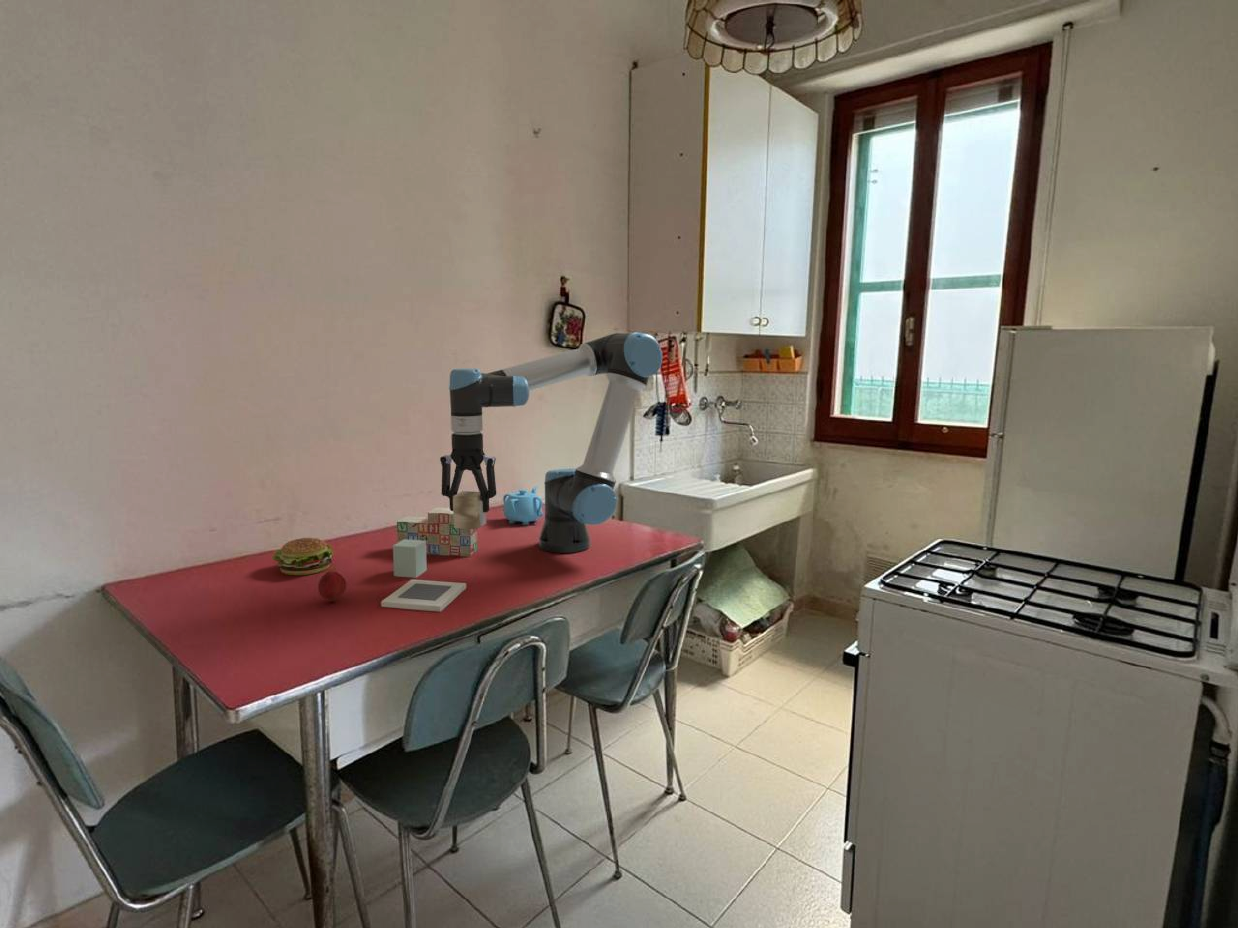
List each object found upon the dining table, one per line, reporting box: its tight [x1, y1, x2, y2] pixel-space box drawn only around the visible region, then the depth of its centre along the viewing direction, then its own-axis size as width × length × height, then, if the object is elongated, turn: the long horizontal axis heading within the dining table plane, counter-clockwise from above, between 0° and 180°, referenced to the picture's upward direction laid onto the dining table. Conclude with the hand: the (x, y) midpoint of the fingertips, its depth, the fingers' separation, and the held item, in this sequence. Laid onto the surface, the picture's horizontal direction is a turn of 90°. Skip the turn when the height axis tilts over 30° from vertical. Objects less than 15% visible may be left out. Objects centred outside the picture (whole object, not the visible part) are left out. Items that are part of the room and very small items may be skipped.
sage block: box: [392, 539, 428, 579], centre depth 172 cm, size 6×6×8 cm
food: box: [271, 537, 334, 576], centre depth 173 cm, size 14×14×8 cm
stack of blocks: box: [396, 507, 478, 558], centre depth 190 cm, size 21×6×12 cm, turn 84°
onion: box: [317, 567, 347, 603], centre depth 152 cm, size 6×6×8 cm
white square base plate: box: [380, 578, 467, 612], centre depth 156 cm, size 14×15×1 cm
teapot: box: [502, 486, 544, 526], centre depth 225 cm, size 13×14×11 cm
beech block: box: [453, 490, 482, 530], centre depth 167 cm, size 6×6×8 cm
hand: (469, 523), depth 168 cm, fingers closed on beech block, 6 cm apart
